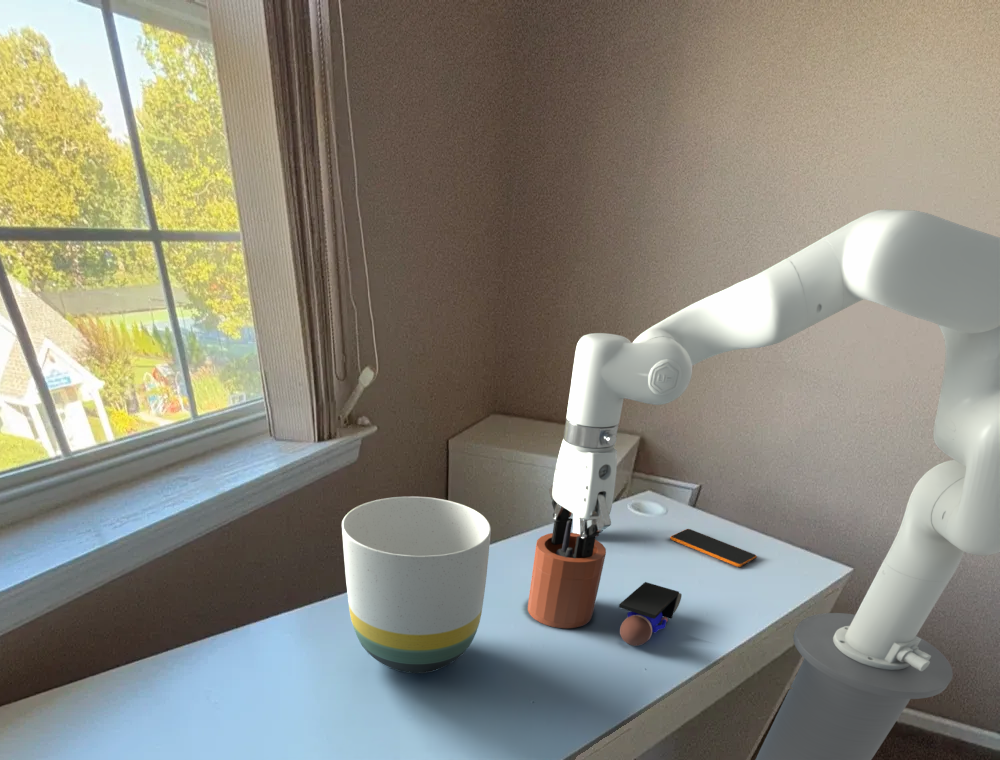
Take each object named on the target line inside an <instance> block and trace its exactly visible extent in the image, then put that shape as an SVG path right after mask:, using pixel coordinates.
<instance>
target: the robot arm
mask: <svg viewBox="0 0 1000 760" xmlns="http://www.w3.org/2000/svg"><path fill="white" fill-rule="evenodd" d="M861 301H869V302H871V303H874V304H878V305H881V306H883V307H886V308H889V309H891V310H894V311H897V312H899V313H902V314H905V315H908V316H911V317H913V318H917V319H920V320H924V321H926V322H930V323H934V324H936V325H937V327H938V328H939V330H940V332H941V334H942V336H943V337H942V338H943V341H944V347H945V357H944V367H943V375H942V381H941V385H940V389H939V396H938V402H937V407H936V414H935V418H934V424H933V433H932V438H933V442H934V444H935V446H936V447H937V448H938V449H939V450H940V451H941V452H942V453H943V454H945V455H947V457H949V458H951V459H950V460H947V461H944V462H941V463H939V464H936V465H935V466H933V467H932V468H930V469H929V470H927V471H926V472H925V473H924V474H923V475H922V476H921V477H920V478H919V479H918V481H917V482H916V484H915V485H914V487H913V489H912V491H911V493H910V496H909V498H908V501H907V504H906V507H905V511H904V514H903V518H902V521H901V523H900V526H899V528H898V530H897V534H896V536H895V537H894V540H893V542H892V544H891V546H890V548H889V550H888V552H887V553H886V555H885V557H884V559H883V561H882V563H881V565H880V566H879V568H878V570H877V572H876V575H875V576H874V578H873V581H872V582H871V584H870V586H869V588H868V589H867V591H866V594H865V596H864V597H863V598H862V599H863V600H862V601H861V603H860V605H859V608H858V610H857V611H856V613H855V614H854V615H855V617H854V619H853V621H852V623H851V625H850V626H845V627H842V628H840V629H838V630H837V631H836V633H835V635H834V637H833V642H834V644H835V646H836V647H837V648H838V649H839V650H840V651H841V652H842V653H843V654H845V655H846V656H848V657H849V658H851V659H853V660H855V661H857V662H860V663H862V664H865V665H868V666H871V667H875V668H880V669H886V670H899V669H904V668H907V667H909V666H910V665H911V666H912V667H914V668H916V669H918V670H919V671H923V670H925V669H926V668H927V667H928V665H929V664H930V661H929V659H930V658H931V656H930V655H929V654H927V653H925V652H922V651H921V650H919V647H917V646H918V644H919V643H920V641H921V639H920V638H921V637H920V638H918V637H919V636H918V633H919V632H920V630H921V629H922V627H923V626H924V623H925V622H926V620H927V619H928V617H929V615H930V614H931V612H932V610H933V608H934V607H935V606H936V604H937V602H938V600H939V599H940V597H941V595H942V593H943V592H944V591H945V589H946V587H947V586H948V584H949V583H950V581H951V579H952V577H953V576H954V575H955V572H956V571H957V569H958V567H959V566H960V563H961V561H962V560H963V556H964V554H965V553H966V554H969V555H973V556H978V557H979V556H980V557H984V556H985V557H986V556H992V555H997V554H999V553H1000V237H999V236H996V235H993V234H990V233H987V232H984V231H981V230H977V229H974V228H971V227H968V226H965V225H962V224H959V223H956V222H953V221H951V220H948V219H945V218H943V217H940V216H937V215H934V214H931V213H928V212H924V211H920V210H915V209H913V210H912V209H894V208H893V209H890V208H889V209H878V210H874V211H871V212H868V213H866V214H864V215H862V216H859V217H858V218H855V219H854V220H852V221H850V222H849V223H847V224H845V225H843V226H841V227H839V228H838V229H835V230H834V231H832V232H830V233H829V234H826V235H825V236H823V237H822V238H820V239H818V240H816V241H815V242H813V243H811V244H809V245H808V246H806V247H804V248H802V249H800V250H799V251H797V252H795V253H794V254H792V255H790V256H789V257H787V258H785V259H783V260H781V261H779V262H777V263H775V264H774V265H772V266H770V267H768V268H766V269H765V270H762V271H761V272H759V273H756V274H755V275H753V276H751V277H749V278H746V279H743V280H741V281H739V282H737V283H734V284H732V285H731V286H729V287H726V288H724V289H723V290H720V291H718V292H715V293H713V294H711V295H708V296H706V297H704V298H702V299H700V300H698V301H696V302H693V303H691V304H689V305H688V306H686V307H684V308H682V309H680V310H679V311H677V312H674V313H673V314H671V315H670V316H668V317H666V318H664V319H663V320H661V321H659V322H657V323H656V324H654V325H652V326H651V327H649V328H647V329H646V330H644V331H643V332H641V333H640V334H639V335H638V336H637V337H636V338H634V340H633V341H632V342H631V340H630V339H629V338H627V337H625V336H623V335H620V334H614V333H605V332H595V333H594V332H593V333H588V334H584V335H582V336H581V337H580V338H579V340H578V342H577V343H576V347H575V352H574V359H573V365H572V374H571V382H570V389H569V396H568V402H567V403H568V404H567V411H566V417H565V424H564V430H563V439H562V441H561V445H560V448H559V453H558V456H557V460H556V464H555V470H554V476H553V481H552V482H553V483H552V485H551V486H549V488H548V493H549V496H550V499H551V505H552V509H553V513H552V519H553V520H554V521H553V528H552V533H553V534H552V541H551V543H552V544H553V545H558V544H563V540H564V535H565V530H566V525H567V521H569V520H570V521H572V522H573V517H571V516H572V515H573V514H575V515H576V516H578V517H579V518H580V536H577V540H576V546H575V552H574V558H587V557H591V556H592V554H593V548H594V543H595V539H596V537H599V535H600V534H601V533H602V532H603V531H604V530H607V528H609V527H610V526H612V519H611V516H610V515H611V512H612V507H613V503H614V498H615V497H614V496H615V489H616V480H617V471H618V470H617V468H618V451H617V449H616V448H615V447H616V443H617V436H618V431H619V426H620V425H619V424H620V422H621V421H620V420H621V417H622V416H621V415H622V410H623V405H624V399H626V400H630V401H633V402H634V401H635V402H639V403H643V404H648V405H652V406H653V405H654V406H661V405H666V404H669V403H671V402H673V401H676V400H677V399H678V398H680V397H681V396H682V395H683V394H684V393H685V392H686V390H687V388H688V387H689V385H690V383H691V380H692V375H693V367H694V365H696V364H698V363H701V362H703V361H706V360H708V359H710V358H713V357H715V356H717V355H720V354H721V355H722V354H724V353H728V352H732V351H736V350H737V351H738V350H746V349H759V348H764V347H770V346H774V345H778V344H779V343H781V342H783V341H786V340H787V339H789V338H791V337H793V336H795V335H797V334H799V333H801V332H803V331H805V330H807V329H808V328H810V327H812V326H814V325H816V324H819V323H820V322H822V321H824V320H826V319H827V318H830V317H832V316H834V315H835V314H837V313H839V312H841V311H843V310H845V309H847V308H848V307H851V306H853V305H855V304H857V303H859V302H861ZM591 512H592V515H590V513H591ZM589 520H592V525H591V526H590V527H588V528H587V521H589ZM572 526H573V525H572ZM572 526H571V528H573V527H572ZM916 635H917V636H918V637H917V636H916Z"/></svg>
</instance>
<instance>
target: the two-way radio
mask: <svg viewBox="0 0 1000 760" xmlns="http://www.w3.org/2000/svg"><path fill="white" fill-rule="evenodd" d="M571 526H573V520H572V521H570V520H569V521H567V525H566V530H565V535H564V540H563V545H562V549H558V550H557V551H556V555H559V556H563V557H568V558H574V552H573V549H572V548H568V547H569V541H570V534H571V533H572V527H571Z"/></svg>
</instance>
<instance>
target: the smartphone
mask: <svg viewBox="0 0 1000 760" xmlns="http://www.w3.org/2000/svg"><path fill="white" fill-rule="evenodd" d="M669 538H670V540H671V541H673V542H675V543H678V544H680V545H683V546H685V547H688V548H690V549H692V550H695V551H697V552H700V553H702V554H705V555H707V556H709V557H712V558H713V559H716V560H720V561H722V562H725V563H726V564H729V565H731V566H734V567H737V568H741V567H744V565H746V564H748V563H750V562H752V561H754V560H756V559H757V557H758V556H757V555H756V554H754V553H753V552H750V551H747V550H745V549H742V548H739V547H737V546H735V545H732V544H729V543H727V542H724V541H722V540H720V539H717V538H714V537H711V536H709V535H706V534H705V533H704V534H703V533H702V532H699V531H696V530H695V529H694V530H693V529H692V528H686V529H683V530H681V531H679V532H677V533H675V534H672V535H670V536H669Z"/></svg>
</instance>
